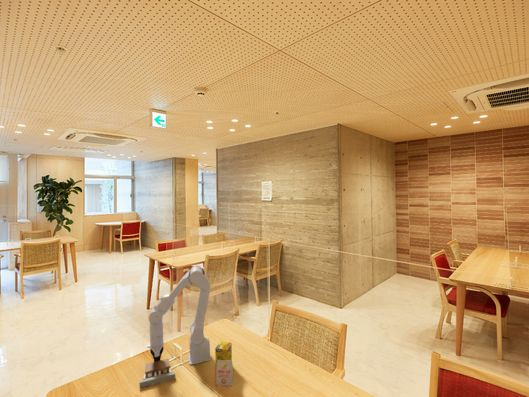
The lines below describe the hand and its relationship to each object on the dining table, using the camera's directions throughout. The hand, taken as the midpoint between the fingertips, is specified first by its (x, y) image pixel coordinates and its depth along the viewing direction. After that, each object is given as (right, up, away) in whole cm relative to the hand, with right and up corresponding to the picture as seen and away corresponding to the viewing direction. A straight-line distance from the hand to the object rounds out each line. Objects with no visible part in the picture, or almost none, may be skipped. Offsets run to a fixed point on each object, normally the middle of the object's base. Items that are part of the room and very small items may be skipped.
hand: (157, 362), depth 127 cm
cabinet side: (+4, -1, -10) cm, 11 cm away
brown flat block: (+2, -1, -5) cm, 6 cm away
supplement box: (+31, -1, -3) cm, 32 cm away
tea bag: (+33, -2, -12) cm, 35 cm away
